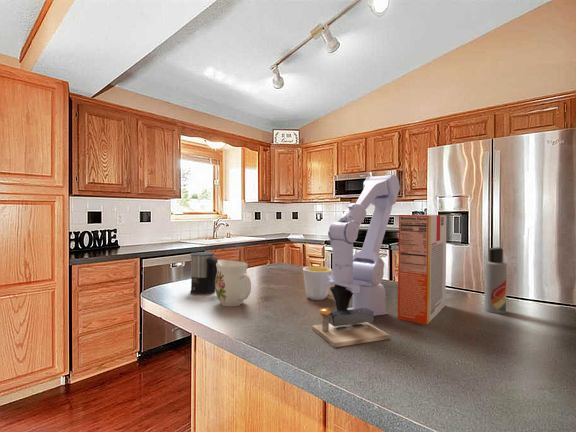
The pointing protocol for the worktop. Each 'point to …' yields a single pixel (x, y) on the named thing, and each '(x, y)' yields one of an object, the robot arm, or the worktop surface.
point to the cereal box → (421, 267)
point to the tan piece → (348, 333)
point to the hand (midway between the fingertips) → (342, 312)
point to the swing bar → (348, 316)
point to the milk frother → (203, 272)
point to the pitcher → (232, 282)
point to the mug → (316, 282)
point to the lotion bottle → (495, 282)
